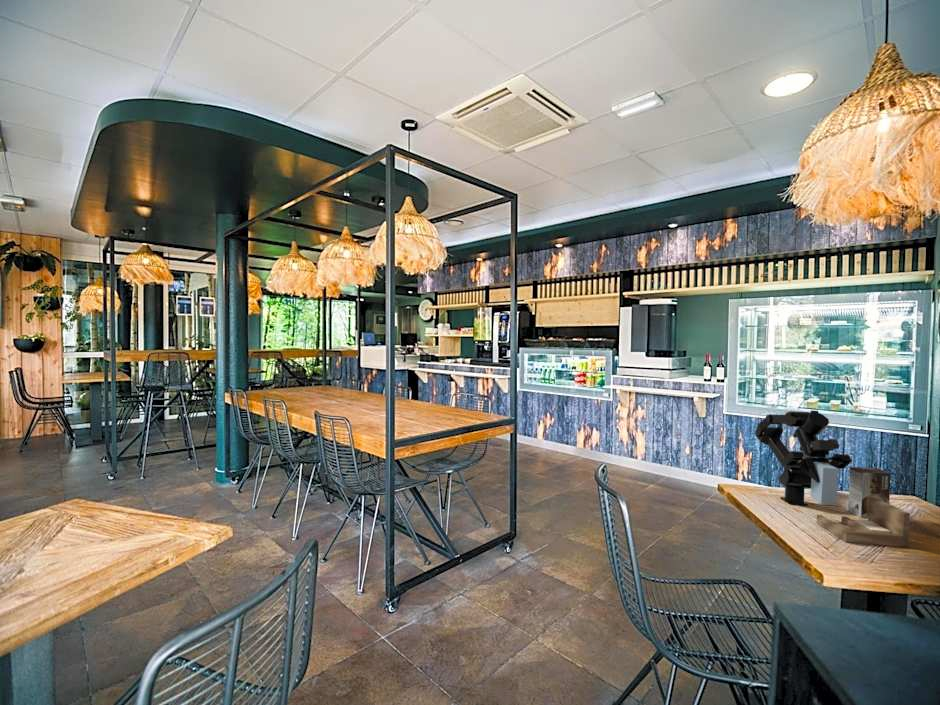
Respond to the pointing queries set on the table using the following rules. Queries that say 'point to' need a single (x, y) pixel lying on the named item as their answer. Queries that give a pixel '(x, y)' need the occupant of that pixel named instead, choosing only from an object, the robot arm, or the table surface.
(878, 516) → the book rack
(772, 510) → the table surface
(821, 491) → the blue-gray rectangular box
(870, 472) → the coffee box
